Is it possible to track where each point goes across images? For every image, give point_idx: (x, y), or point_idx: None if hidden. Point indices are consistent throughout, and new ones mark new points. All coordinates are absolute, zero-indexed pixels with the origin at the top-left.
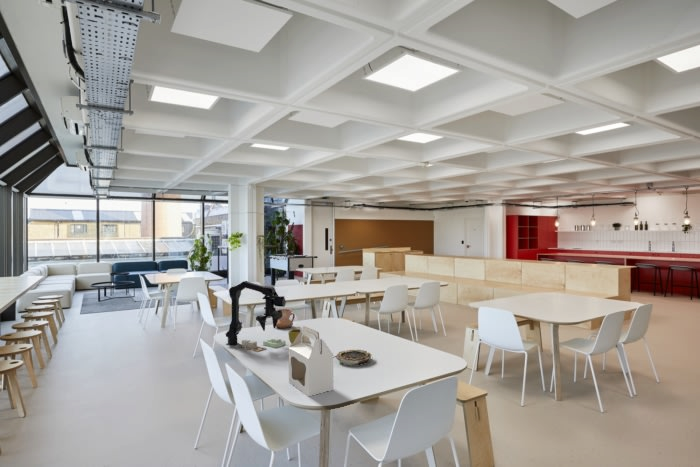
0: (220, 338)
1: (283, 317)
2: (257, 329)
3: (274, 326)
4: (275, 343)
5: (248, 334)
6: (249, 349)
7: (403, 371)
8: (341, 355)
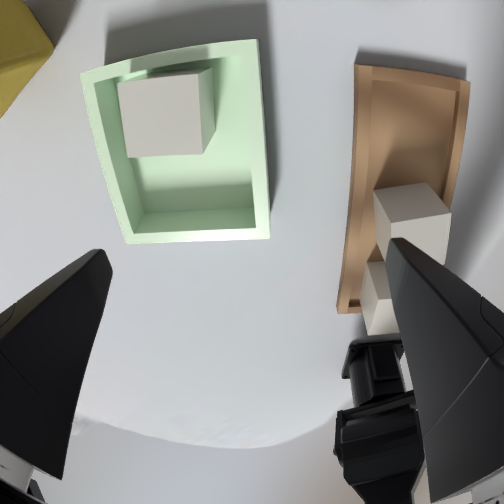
0: (312, 427)
1: None
2: (119, 414)
3: (91, 275)
4: (236, 48)
5: (184, 408)
6: (451, 192)
7: None
8: None
